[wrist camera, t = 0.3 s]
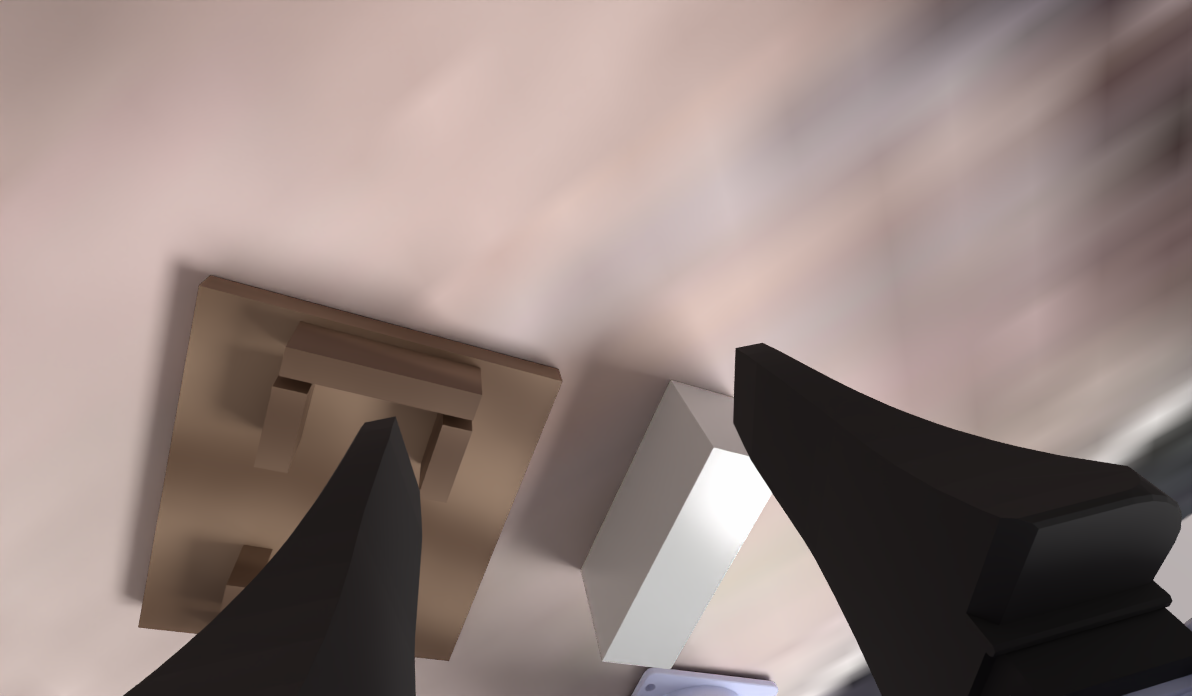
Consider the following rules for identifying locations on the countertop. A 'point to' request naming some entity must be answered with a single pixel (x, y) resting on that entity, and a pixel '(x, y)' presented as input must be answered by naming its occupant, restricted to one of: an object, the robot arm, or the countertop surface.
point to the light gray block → (671, 529)
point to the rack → (332, 448)
